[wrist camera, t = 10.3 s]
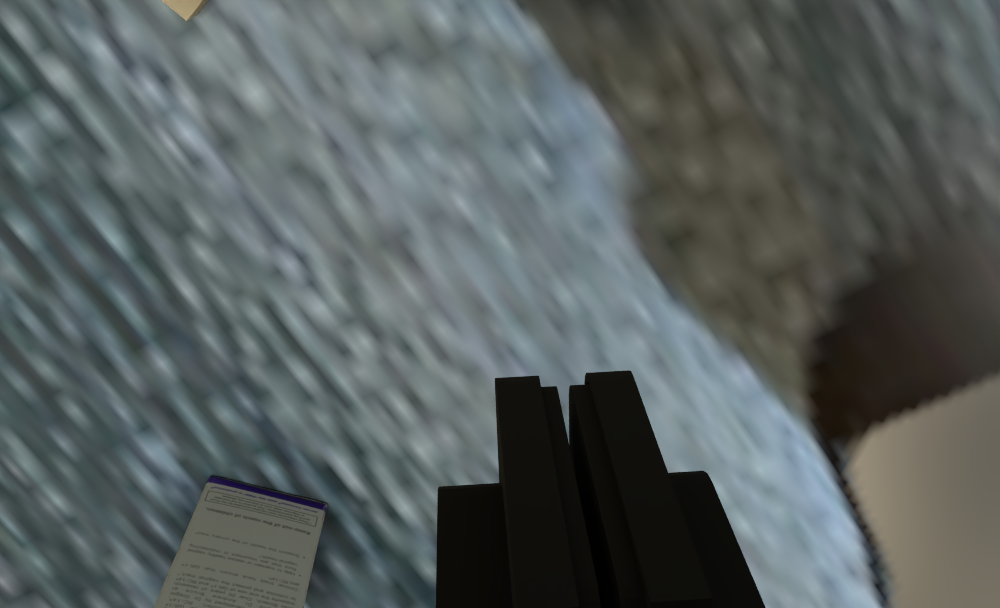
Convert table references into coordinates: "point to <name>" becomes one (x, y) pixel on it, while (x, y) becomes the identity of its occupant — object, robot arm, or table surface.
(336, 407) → the table surface
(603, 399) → the robot arm
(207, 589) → the supplement box
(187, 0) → the mounting board
